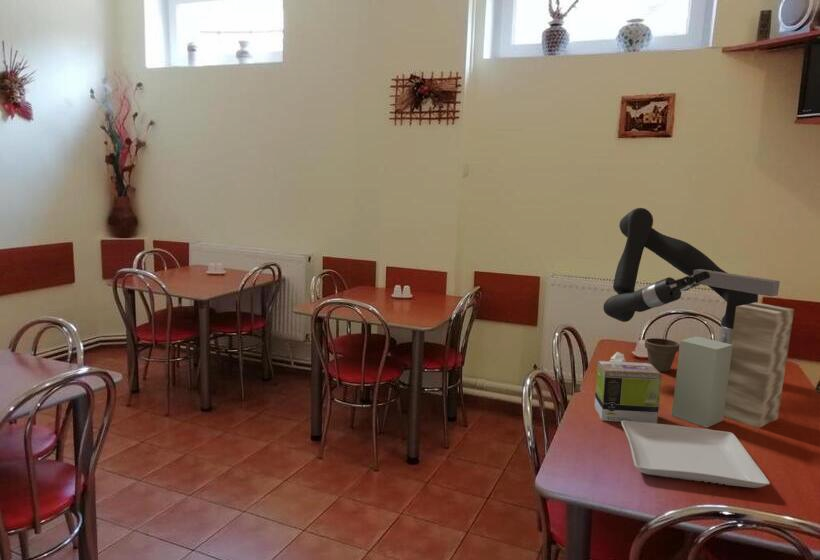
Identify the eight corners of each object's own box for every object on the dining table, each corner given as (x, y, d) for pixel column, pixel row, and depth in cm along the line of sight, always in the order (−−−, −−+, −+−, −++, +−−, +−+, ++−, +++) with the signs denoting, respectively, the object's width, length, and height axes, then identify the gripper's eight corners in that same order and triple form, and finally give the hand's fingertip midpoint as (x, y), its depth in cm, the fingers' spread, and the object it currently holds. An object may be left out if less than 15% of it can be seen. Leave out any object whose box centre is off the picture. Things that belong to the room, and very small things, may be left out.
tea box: (646, 411, 169) (651, 362, 167) (657, 425, 160) (663, 373, 157) (593, 407, 171) (597, 358, 168) (600, 421, 161) (605, 369, 158)
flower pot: (639, 362, 216) (642, 336, 215) (672, 365, 214) (675, 338, 213) (645, 372, 205) (648, 344, 204) (680, 375, 203) (683, 347, 201)
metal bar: (698, 282, 179) (700, 269, 178) (777, 295, 162) (779, 281, 161) (692, 283, 176) (693, 269, 176) (771, 296, 159) (773, 282, 158)
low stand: (688, 408, 172) (697, 336, 169) (722, 420, 165) (732, 344, 161) (671, 415, 167) (680, 340, 163) (706, 427, 159) (716, 349, 155)
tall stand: (741, 407, 175) (755, 302, 170) (777, 418, 167) (794, 309, 162) (721, 415, 168) (736, 306, 163) (758, 428, 160) (775, 313, 155)
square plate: (730, 444, 150) (732, 430, 149) (769, 500, 124) (772, 483, 123) (619, 431, 156) (620, 417, 155) (633, 481, 130) (635, 464, 129)
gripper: (644, 283, 183) (694, 263, 170) (668, 280, 192) (718, 260, 179) (653, 306, 181) (704, 287, 168) (677, 301, 190) (728, 283, 177)
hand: (711, 273), depth 174 cm, fingers closed on metal bar, 4 cm apart
